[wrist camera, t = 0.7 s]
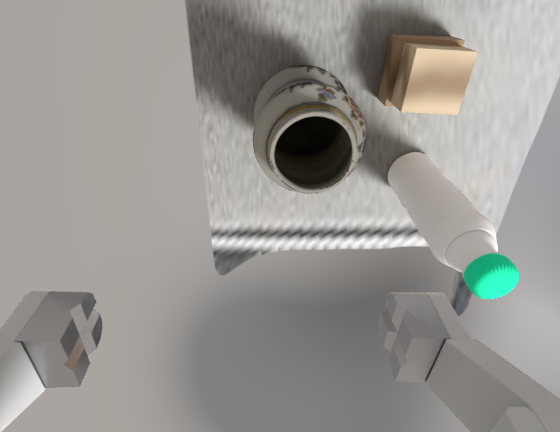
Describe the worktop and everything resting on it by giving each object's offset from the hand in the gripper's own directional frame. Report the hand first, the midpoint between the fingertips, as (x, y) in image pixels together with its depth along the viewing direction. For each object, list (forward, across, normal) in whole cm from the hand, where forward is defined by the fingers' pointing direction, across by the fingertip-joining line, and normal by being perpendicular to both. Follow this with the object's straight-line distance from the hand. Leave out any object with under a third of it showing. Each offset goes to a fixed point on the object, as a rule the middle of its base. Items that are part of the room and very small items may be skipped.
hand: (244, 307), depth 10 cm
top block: (+39, -21, +2) cm, 44 cm away
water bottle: (+43, -24, +16) cm, 52 cm away
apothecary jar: (+43, -6, +7) cm, 44 cm away
